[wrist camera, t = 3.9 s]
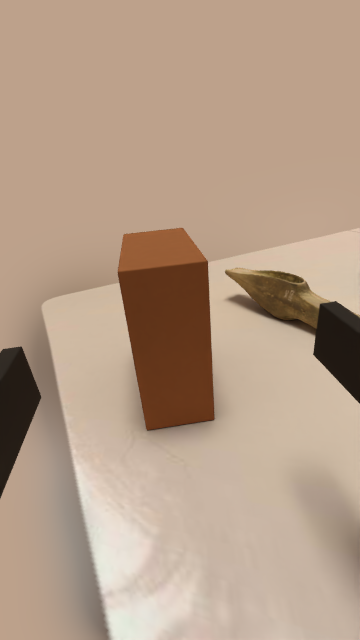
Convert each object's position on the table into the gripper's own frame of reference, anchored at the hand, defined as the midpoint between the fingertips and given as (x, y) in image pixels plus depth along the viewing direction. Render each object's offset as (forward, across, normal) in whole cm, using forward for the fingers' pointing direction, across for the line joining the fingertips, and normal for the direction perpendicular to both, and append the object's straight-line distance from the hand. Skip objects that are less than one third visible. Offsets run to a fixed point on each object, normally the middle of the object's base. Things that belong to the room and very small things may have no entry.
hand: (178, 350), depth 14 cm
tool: (+16, +15, -10) cm, 24 cm away
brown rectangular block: (+10, 0, -10) cm, 14 cm away
